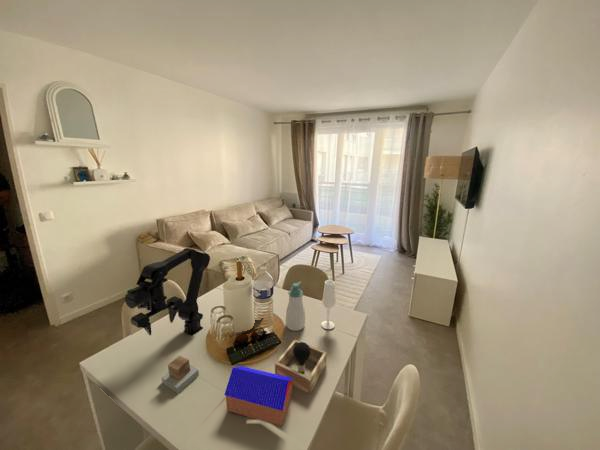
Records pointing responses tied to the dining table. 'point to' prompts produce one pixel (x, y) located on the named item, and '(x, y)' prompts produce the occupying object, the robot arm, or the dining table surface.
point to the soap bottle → (295, 309)
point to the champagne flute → (328, 301)
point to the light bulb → (301, 354)
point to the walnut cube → (179, 368)
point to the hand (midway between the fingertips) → (161, 328)
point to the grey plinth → (181, 384)
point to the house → (258, 394)
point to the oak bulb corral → (299, 378)
